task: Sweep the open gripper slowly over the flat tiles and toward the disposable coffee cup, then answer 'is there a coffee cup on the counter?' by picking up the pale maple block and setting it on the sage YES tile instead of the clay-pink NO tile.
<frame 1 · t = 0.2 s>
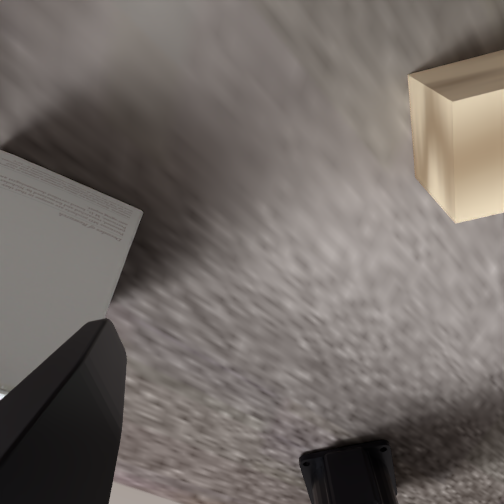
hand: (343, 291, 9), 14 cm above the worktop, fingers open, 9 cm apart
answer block: (464, 115, 22), on the worktop
supplement box: (54, 235, 25), on the worktop
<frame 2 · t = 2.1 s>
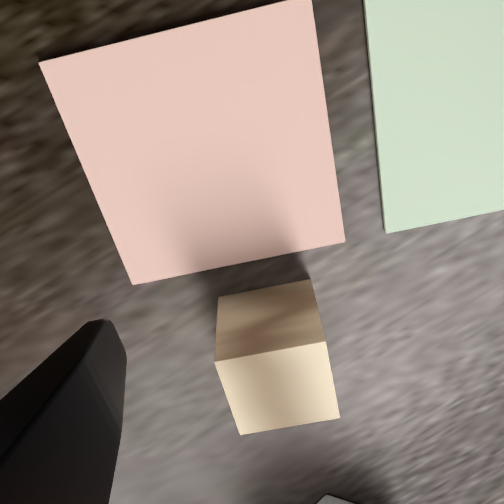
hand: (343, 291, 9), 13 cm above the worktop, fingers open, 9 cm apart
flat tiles: (351, 127, 21), on the worktop
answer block: (273, 323, 26), on the worktop
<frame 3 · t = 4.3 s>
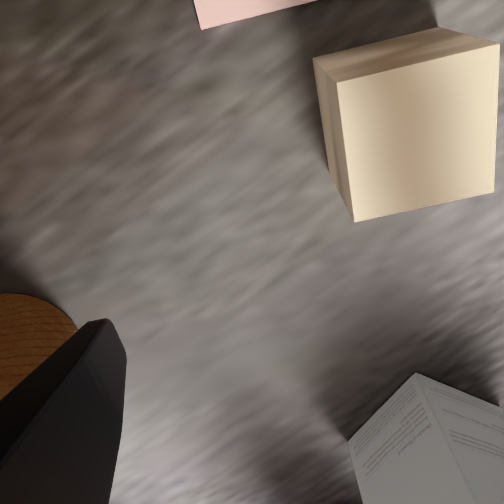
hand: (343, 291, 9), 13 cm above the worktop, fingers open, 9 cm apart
disposable coffee cup: (23, 337, 26), on the worktop
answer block: (379, 104, 20), on the worktop
supplement box: (421, 422, 31), on the worktop
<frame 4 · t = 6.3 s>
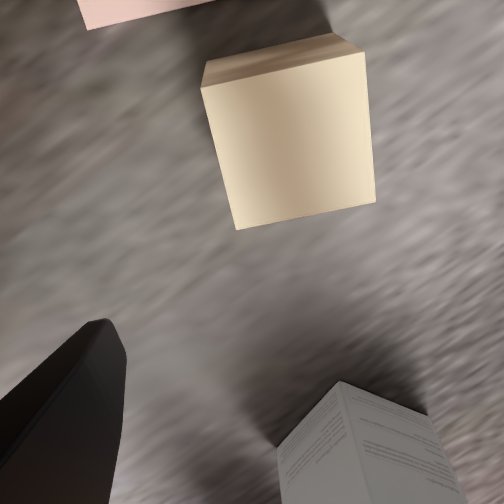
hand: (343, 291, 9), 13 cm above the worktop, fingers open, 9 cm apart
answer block: (279, 110, 20), on the worktop
supplement box: (350, 430, 31), on the worktop
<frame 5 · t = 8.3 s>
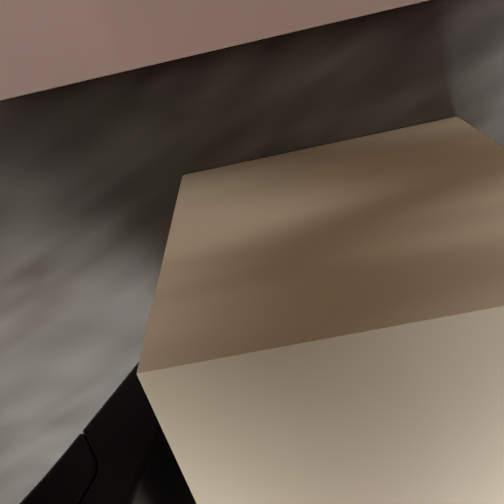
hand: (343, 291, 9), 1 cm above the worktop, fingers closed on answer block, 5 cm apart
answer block: (333, 261, 10), on the worktop, touching gripper
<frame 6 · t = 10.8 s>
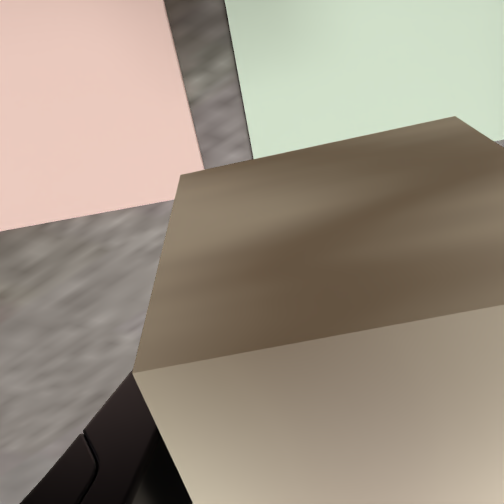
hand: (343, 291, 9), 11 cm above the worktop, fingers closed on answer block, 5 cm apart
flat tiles: (203, 41, 17), on the worktop
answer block: (331, 261, 10), point 10 cm above the worktop, touching gripper
when the fingers open (2 cm above the worktop, at t = 13.6 s): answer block drops 1 cm, resting on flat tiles.
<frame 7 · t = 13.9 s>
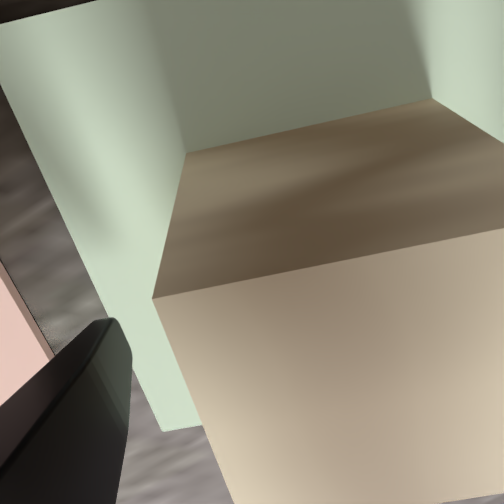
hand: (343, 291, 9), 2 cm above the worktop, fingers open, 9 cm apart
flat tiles: (55, 282, 12), on the worktop
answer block: (323, 233, 11), resting on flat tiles
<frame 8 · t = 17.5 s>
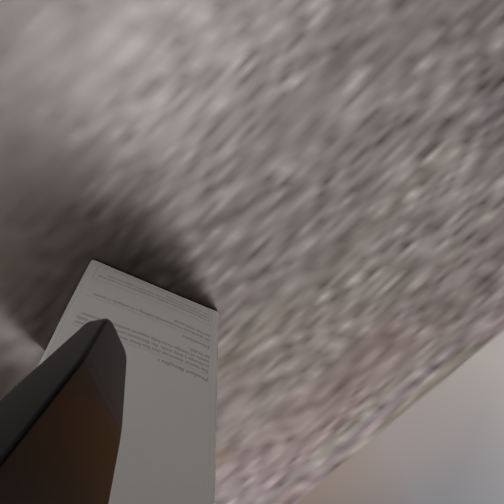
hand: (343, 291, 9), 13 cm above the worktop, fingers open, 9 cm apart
supplement box: (133, 330, 26), on the worktop
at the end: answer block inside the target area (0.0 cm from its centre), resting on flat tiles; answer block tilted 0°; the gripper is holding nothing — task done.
